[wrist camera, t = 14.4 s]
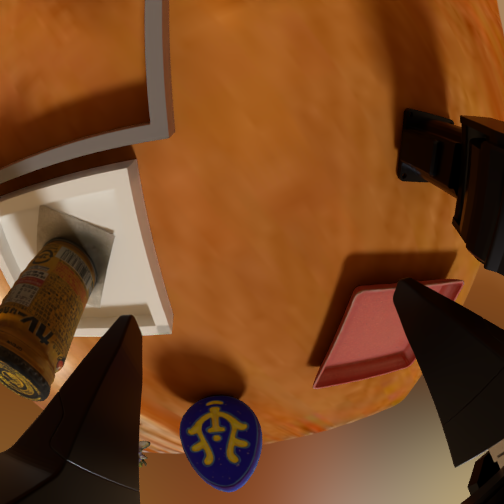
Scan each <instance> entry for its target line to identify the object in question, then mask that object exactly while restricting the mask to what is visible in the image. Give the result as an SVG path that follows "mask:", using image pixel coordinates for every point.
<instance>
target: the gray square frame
mask: <svg viewBox="0 0 504 504" xmlns="http://www.w3.org/2000/svg"><path fill="white" fill-rule="evenodd" d="M145 59H146V78H147V92H148V104H149V115H150V122H146V123H141V124H136V125H131V126H126V127H122V128H117V129H113V130H109V131H105V132H101V133H97V134H93V135H90V136H86V137H83V138H79V139H76V140H72V141H69V142H66V143H63V144H60V145H57V146H54V147H51V148H48V149H46V150H43V151H40V152H37V153H35V154H32V155H30V156H27V157H25V158H22V159H20V160H17V161H15V162H13V163H10V164H8V165H6V166H4V167H2V168H0V184H1V183H4V182H6V181H8V180H11V179H13V178H16V177H19V176H21V175H24V174H27V173H29V172H32V171H35V170H38V169H41V168H44V167H47V166H50V165H53V164H56V163H59V162H63V161H66V160H70V159H73V158H77V157H80V156H84V155H88V154H92V153H96V152H100V151H104V150H108V149H113V148H117V147H122V146H127V145H132V144H137V143H142V142H148V141H154V140H160V139H166V138H170V137H171V136H172V135H173V134H174V133H175V123H174V111H173V99H172V85H171V67H170V43H169V0H145Z"/></svg>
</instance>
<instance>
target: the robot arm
mask: <svg viewBox="0 0 504 504" xmlns="http://www.w3.org/2000/svg"><path fill="white" fill-rule="evenodd" d="M409 112H410V116H409ZM460 123H462V127H459V126H456V125H454V122H453V121H452V120H450V119H447V118H444V117H440V116H437V115H433V114H429V113H426V112H422V111H418V110H413V109H409V108H407V109H405V111H404V118H403V131H402V142H401V151H400V159H399V167H398V174H397V176H398V178H399V179H400V180H401V181H410V182H430V183H432V184H434V185H435V186H437V187H439V188H440V189H442V190H444V191H445V192H447V193H448V194H450V195H452V196H453V197H455V198H456V199H457V202H456V208H455V215H454V217H453V220H452V224H453V226H454V227H455V229H456V230H457V231H458V233H459V234H460V236H461V237H462V239H463V240H464V242H465V243H466V248H467V249H468V251H469V252H470V253H472V254H473V255H474V257H475V258H476V259H477V260H478V261H480V262H481V263H483V264H484V268H485V269H487V270H491V271H494V272H497V273H499V274H502V275H503V276H504V122H503V121H499V120H496V119H493V118H487V117H476V116H463V115H460ZM403 174H404V175H403ZM402 175H403V177H402ZM393 303H394V306H395V308H396V311H397V313H398V316H399V319H400V321H401V324H402V327H403V329H404V332H405V335H406V337H407V339H408V342H409V344H410V346H411V348H412V350H413V353H414V355H415V357H416V359H417V362H418V364H419V366H420V369H421V371H422V373H423V376H424V378H425V381H426V383H427V385H428V388H429V390H430V393H431V396H432V398H433V401H434V404H435V406H436V409H437V412H438V415H439V418H440V421H441V423H442V427H443V430H444V433H445V436H446V439H447V442H448V446H449V449H450V453H451V457H452V460H453V464H454V466H455V467H458V466H460V465H462V464H463V463H465V462H467V461H469V460H471V459H473V458H474V457H476V456H478V455H480V454H481V453H483V452H485V451H486V450H489V451H487V452H486V454H484V455H483V456H482V457H481V458H479V459H478V460H477V461H476V462H475V465H474V468H473V472H472V475H471V478H470V481H469V484H468V489H469V492H470V495H471V496H470V497H469V498H467V499H466V500H465V501H463V502H462V503H461V504H504V330H503V329H501V328H499V327H498V326H496V325H494V324H493V323H491V322H489V321H487V320H486V319H483V318H482V317H481V316H479V315H477V314H475V313H474V312H472V311H470V310H469V309H467V308H465V307H463V306H461V305H460V304H458V303H456V302H454V301H453V300H451V299H449V298H447V297H445V296H444V295H442V294H440V293H438V292H436V291H434V290H433V289H431V288H429V287H427V286H425V285H423V284H421V283H419V282H417V281H416V280H414V279H412V278H409V277H407V278H402V279H400V280H399V281H398V283H397V286H396V289H395V292H394V294H393ZM141 393H142V333H141V330H140V328H139V326H138V324H137V321H136V319H135V317H134V316H133V315H131V314H129V315H121V316H120V317H119V318H118V319H117V320H116V321H115V322H114V323H113V325H112V326H111V327H110V328H109V329H108V330H107V332H106V333H105V334H104V335H103V336H102V337H101V339H100V340H99V341H98V342H97V343H96V345H95V346H94V347H93V348H92V349H91V351H90V352H89V353H88V354H87V356H86V357H85V358H84V359H83V360H82V362H81V363H80V364H79V365H78V367H77V368H76V369H75V370H74V372H73V373H72V374H71V376H70V377H69V378H68V379H67V381H66V382H65V383H64V385H63V386H62V387H61V388H60V390H59V392H57V394H56V395H55V396H54V398H53V399H52V400H51V401H50V403H49V404H48V405H47V407H46V408H45V409H44V410H43V412H42V413H41V414H40V415H39V416H38V418H37V419H36V420H35V421H34V422H33V424H31V426H30V427H29V428H28V429H27V430H26V431H25V433H24V434H23V435H22V436H21V437H20V438H19V439H18V441H17V442H16V443H15V444H14V445H13V446H12V447H11V448H9V449H8V450H6V451H4V452H1V453H0V504H140V493H139V425H140V407H141Z"/></svg>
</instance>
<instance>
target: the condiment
mask: <svg viewBox="0 0 504 504" xmlns="http://www.w3.org/2000/svg"><path fill="white" fill-rule="evenodd" d="M58 233H59V234H58ZM114 238H115V236H114V235H112V234H110V233H107V232H106V231H104V230H102V229H99V228H97V227H95V226H92V225H89V224H88V223H85V222H83V221H80V220H78V219H75V218H73V217H71V216H70V215H66V214H63V213H60V212H58V211H56V210H54V209H50V208H48V207H45V206H43V205H40V207H39V214H38V224H37V255H36V256H35V257H34V258H33V259H32V260H31V261H30V263H29V264H28V266H27V267H26V268H25V270H24V271H22V272H21V273H20V276H19V278H18V279H17V280H16V281H15V283H14V285H13V287H12V288H11V289H10V291H9V293H8V294H7V295H6V296H5V298H4V299H3V301H2V304H1V305H0V382H1V383H2V384H3V385H4V386H6V387H7V388H8V389H10V390H11V391H13V392H14V393H16V394H18V395H20V396H22V397H24V398H27V399H30V400H32V401H44V400H45V399H46V398H47V397H48V396H49V393H50V388H51V384H52V383H53V381H54V378H55V373H56V372H58V371H59V370H60V369H61V368H62V367H63V365H64V362H65V360H66V357H67V354H68V351H69V348H70V345H71V342H72V339H73V337H74V334H75V331H76V329H77V327H78V324H79V322H80V319H81V316H82V314H83V311H84V309H85V307H86V304H88V305H91V306H93V307H96V308H99V309H100V303H101V298H102V292H103V288H104V282H105V277H106V272H107V267H108V263H109V259H110V255H111V250H112V246H113V242H114Z"/></svg>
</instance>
